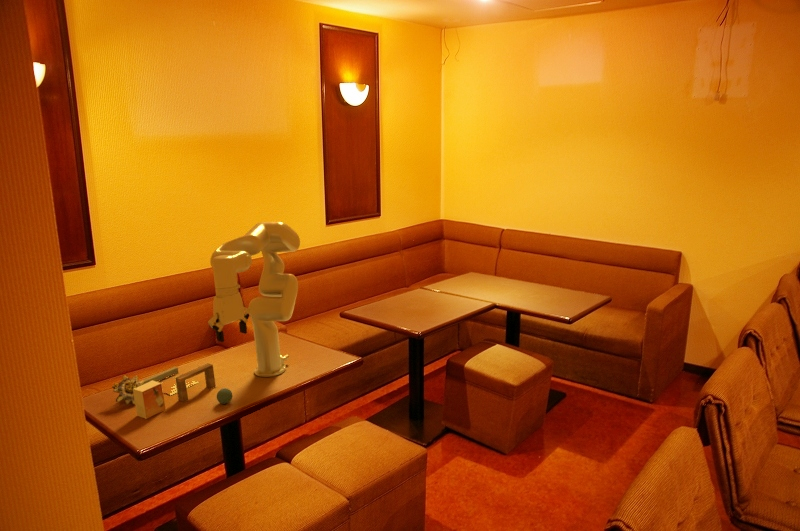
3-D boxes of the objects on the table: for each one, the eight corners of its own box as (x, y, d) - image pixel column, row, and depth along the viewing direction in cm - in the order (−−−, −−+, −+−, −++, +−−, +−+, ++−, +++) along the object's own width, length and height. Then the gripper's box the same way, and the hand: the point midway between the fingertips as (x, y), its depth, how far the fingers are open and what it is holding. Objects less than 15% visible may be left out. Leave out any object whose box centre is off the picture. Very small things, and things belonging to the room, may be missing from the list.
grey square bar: (175, 372, 234) (174, 366, 233) (178, 373, 233) (177, 367, 232) (140, 387, 221) (139, 381, 220) (143, 388, 220) (142, 382, 219)
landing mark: (179, 375, 230) (179, 375, 230) (199, 382, 223) (199, 382, 223) (150, 388, 220) (150, 388, 220) (170, 395, 213) (170, 395, 212)
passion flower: (136, 417, 209) (117, 402, 200) (120, 405, 215) (100, 390, 206) (158, 392, 214) (140, 376, 205) (142, 381, 220) (123, 365, 211)
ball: (226, 398, 209) (224, 384, 207) (236, 401, 206) (234, 387, 204) (214, 404, 204) (212, 390, 203) (224, 408, 201) (222, 394, 200)
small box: (146, 419, 196) (141, 392, 193) (136, 416, 198) (131, 388, 196) (166, 409, 202) (162, 382, 200) (156, 406, 205) (152, 379, 202)
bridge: (178, 400, 209) (175, 377, 206) (210, 384, 220) (207, 363, 218) (183, 402, 207) (180, 379, 205) (215, 386, 219) (212, 364, 216)
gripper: (240, 283, 204) (245, 328, 208) (198, 295, 191) (205, 342, 195) (253, 286, 200) (258, 331, 204) (211, 298, 187) (217, 346, 191)
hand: (232, 337), depth 199 cm, fingers open, 9 cm apart
